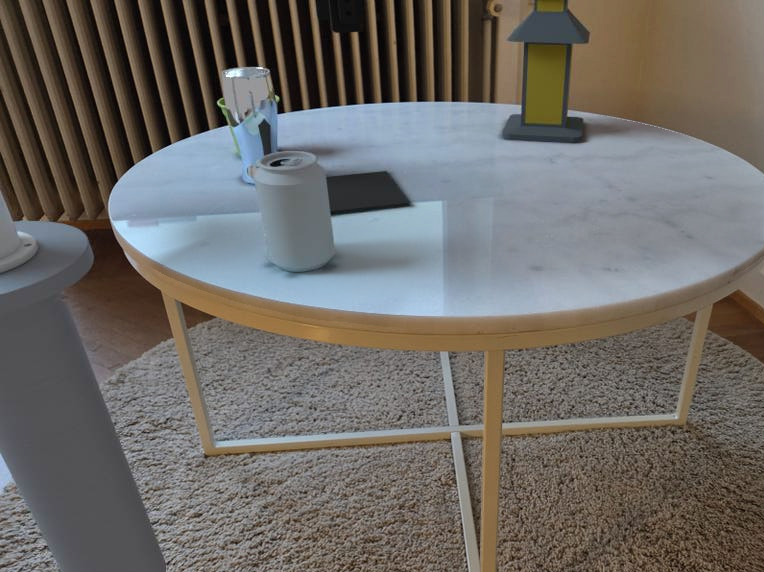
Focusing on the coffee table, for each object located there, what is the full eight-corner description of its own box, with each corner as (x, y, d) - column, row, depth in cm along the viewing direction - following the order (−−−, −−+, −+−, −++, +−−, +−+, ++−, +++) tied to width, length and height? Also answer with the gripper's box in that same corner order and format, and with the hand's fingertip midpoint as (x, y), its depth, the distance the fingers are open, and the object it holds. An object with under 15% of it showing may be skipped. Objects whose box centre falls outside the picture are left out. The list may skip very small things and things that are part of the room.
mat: (306, 217, 89) (305, 214, 89) (293, 183, 100) (293, 180, 100) (409, 205, 93) (409, 202, 93) (386, 173, 104) (386, 170, 104)
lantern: (581, 143, 118) (599, -59, 102) (501, 139, 120) (506, -60, 103) (583, 122, 130) (599, -62, 113) (510, 118, 132) (516, -63, 115)
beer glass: (234, 185, 99) (212, 76, 91) (246, 170, 105) (227, 66, 97) (282, 185, 99) (264, 76, 91) (291, 170, 105) (276, 66, 97)
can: (294, 243, 82) (278, 144, 76) (347, 253, 80) (336, 151, 74) (256, 268, 77) (235, 163, 70) (312, 280, 74) (297, 172, 68)
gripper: (269, -173, 68) (293, 15, 78) (289, -192, 55) (316, 39, 64) (343, -170, 70) (358, 13, 80) (380, -187, 57) (393, 36, 66)
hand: (339, 25), depth 72 cm, fingers open, 9 cm apart
